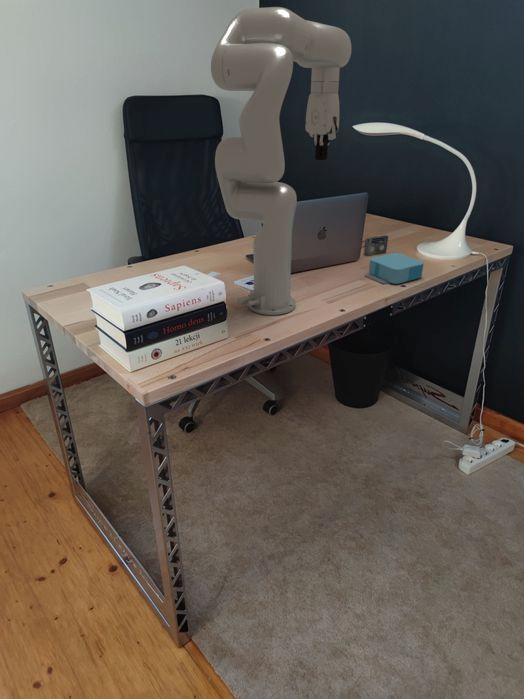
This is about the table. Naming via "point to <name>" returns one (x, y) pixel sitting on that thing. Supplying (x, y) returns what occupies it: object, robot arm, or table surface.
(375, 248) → the mini dv tape
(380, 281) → the mat
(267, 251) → the robot arm
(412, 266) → the data package
